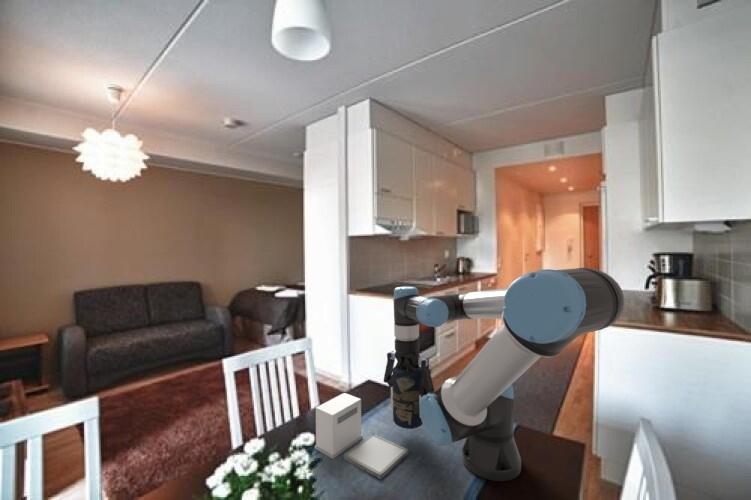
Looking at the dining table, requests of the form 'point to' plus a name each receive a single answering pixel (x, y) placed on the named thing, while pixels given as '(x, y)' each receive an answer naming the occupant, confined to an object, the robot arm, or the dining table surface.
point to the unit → (338, 424)
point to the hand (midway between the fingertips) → (408, 411)
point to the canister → (406, 397)
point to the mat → (376, 455)
